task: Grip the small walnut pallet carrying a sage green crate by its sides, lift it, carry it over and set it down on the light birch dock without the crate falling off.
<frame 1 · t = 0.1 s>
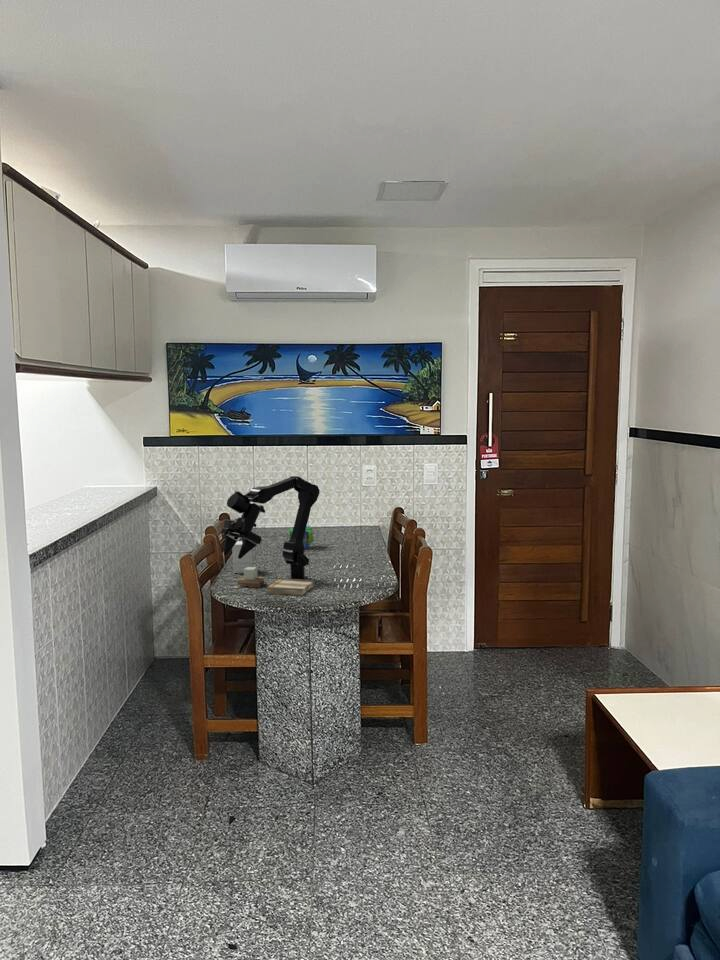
hand: (231, 556, 265), 15 cm above the table, tool tilted 30°, fingers open, 9 cm apart
walnut pallet: (251, 585, 281), on the table, touching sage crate
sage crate: (250, 578, 281), point 3 cm above the table, touching walnut pallet
supplement box: (243, 572, 304), on the table
snack cup: (301, 548, 348), on the table
birch dock: (290, 589, 273), on the table
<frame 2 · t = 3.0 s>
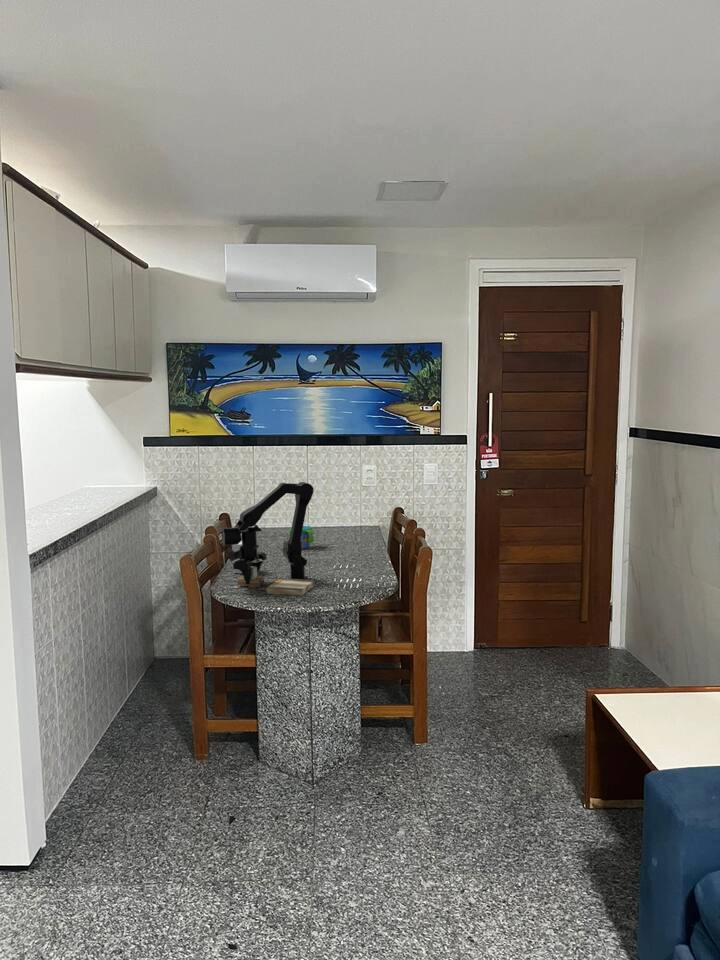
hand: (251, 582, 281), 1 cm above the table, tool pointing down, fingers closed on walnut pallet, 6 cm apart
walnut pallet: (251, 585, 281), on the table, touching gripper, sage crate
everything else where it was.
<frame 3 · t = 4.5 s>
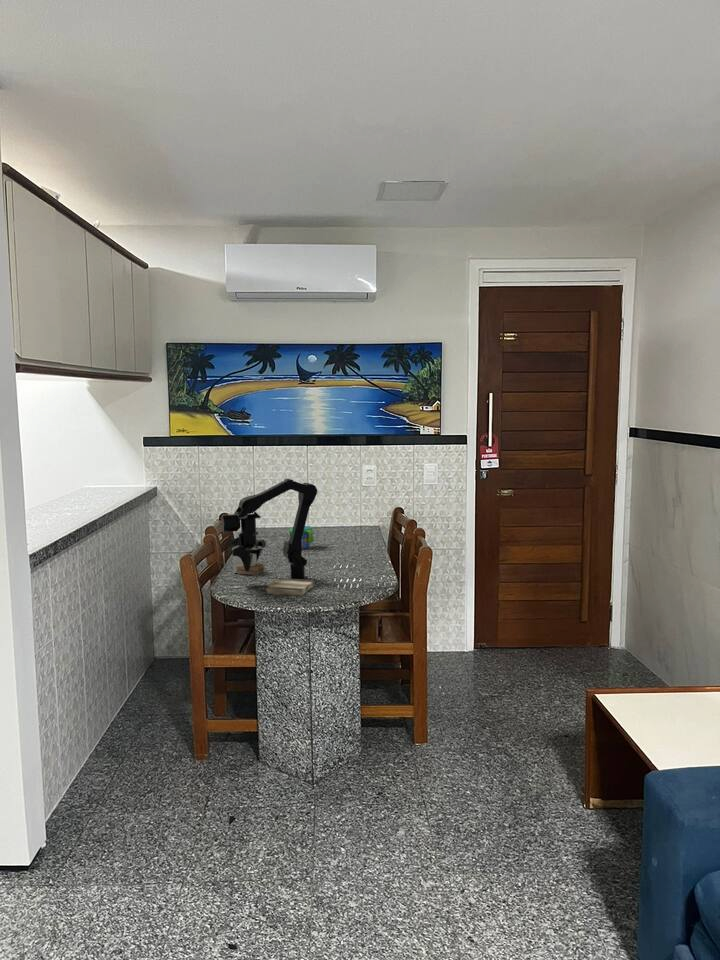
hand: (250, 569, 280), 6 cm above the table, tool pointing down, fingers closed on walnut pallet, 6 cm apart
walnut pallet: (250, 572, 281), point 5 cm above the table, touching gripper, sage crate
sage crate: (250, 564, 280), point 8 cm above the table, touching walnut pallet
everything else where it was.
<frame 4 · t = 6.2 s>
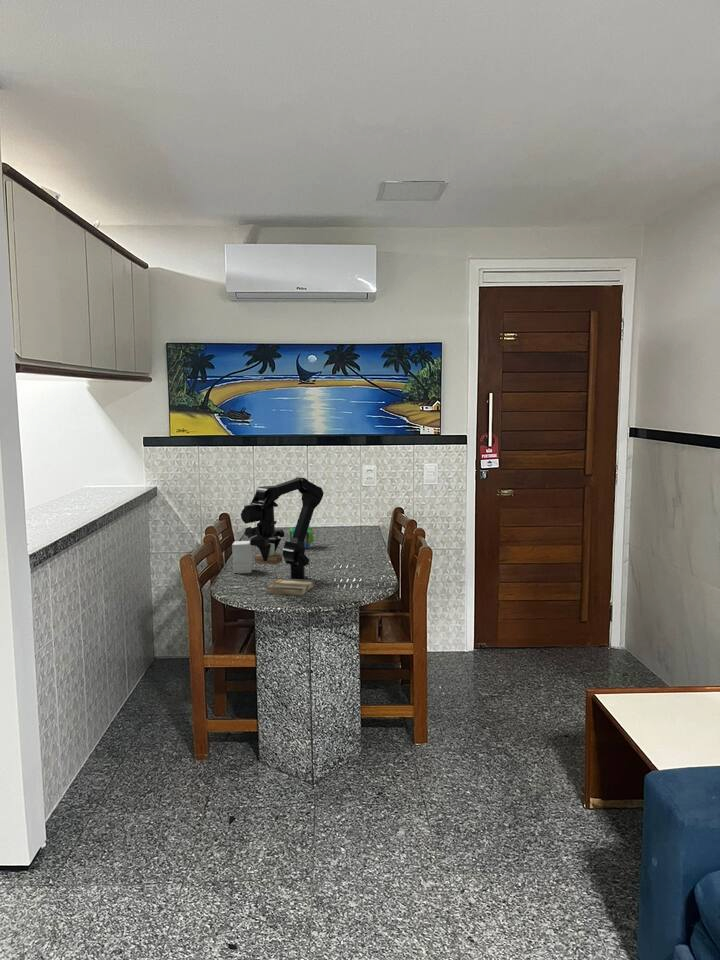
hand: (268, 559, 276), 11 cm above the table, tool pointing down, fingers closed on walnut pallet, 6 cm apart
walnut pallet: (268, 562, 276), point 10 cm above the table, touching gripper, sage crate
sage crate: (268, 554, 276), point 13 cm above the table, touching walnut pallet
everything else where it was.
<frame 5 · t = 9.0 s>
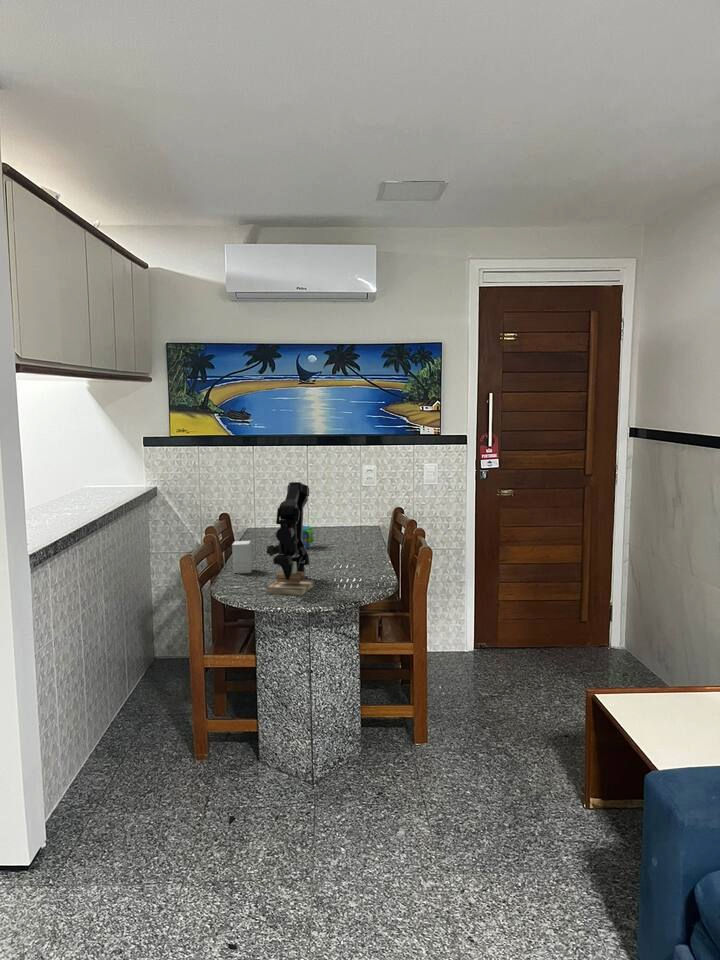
hand: (290, 577, 273), 5 cm above the table, tool pointing down, fingers closed on walnut pallet, 6 cm apart
walnut pallet: (290, 580, 273), point 3 cm above the table, touching gripper, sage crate
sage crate: (290, 573, 273), point 6 cm above the table, touching walnut pallet
everything else where it was.
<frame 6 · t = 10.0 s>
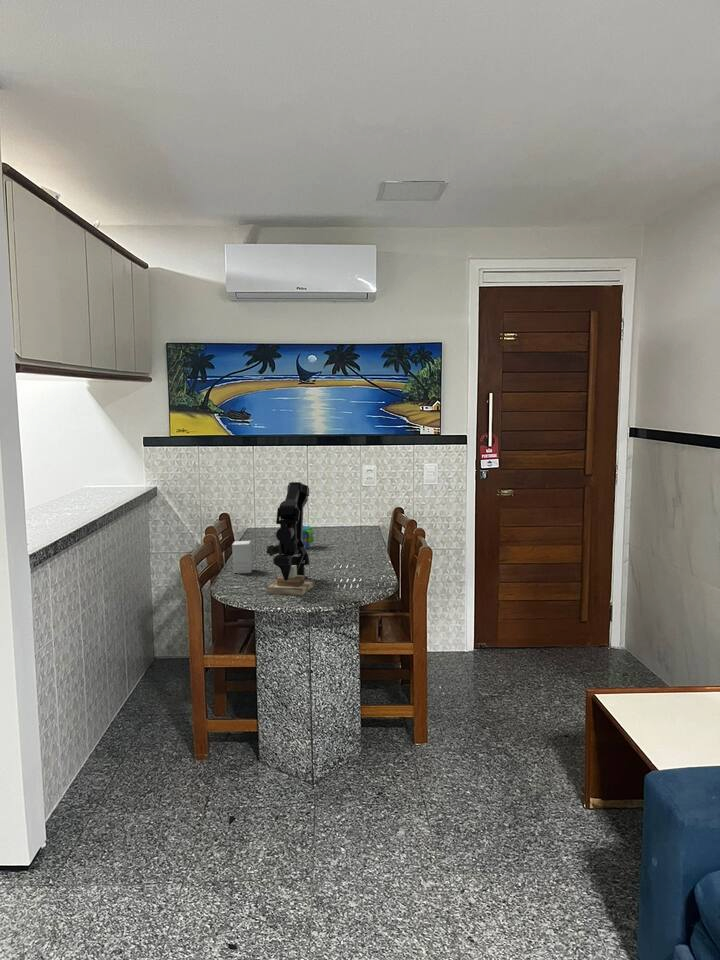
hand: (290, 577, 273), 5 cm above the table, tool pointing down, fingers open, 9 cm apart
walnut pallet: (290, 584, 273), point 2 cm above the table, touching birch dock, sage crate
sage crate: (290, 576, 273), point 5 cm above the table, touching walnut pallet
everything else where it was.
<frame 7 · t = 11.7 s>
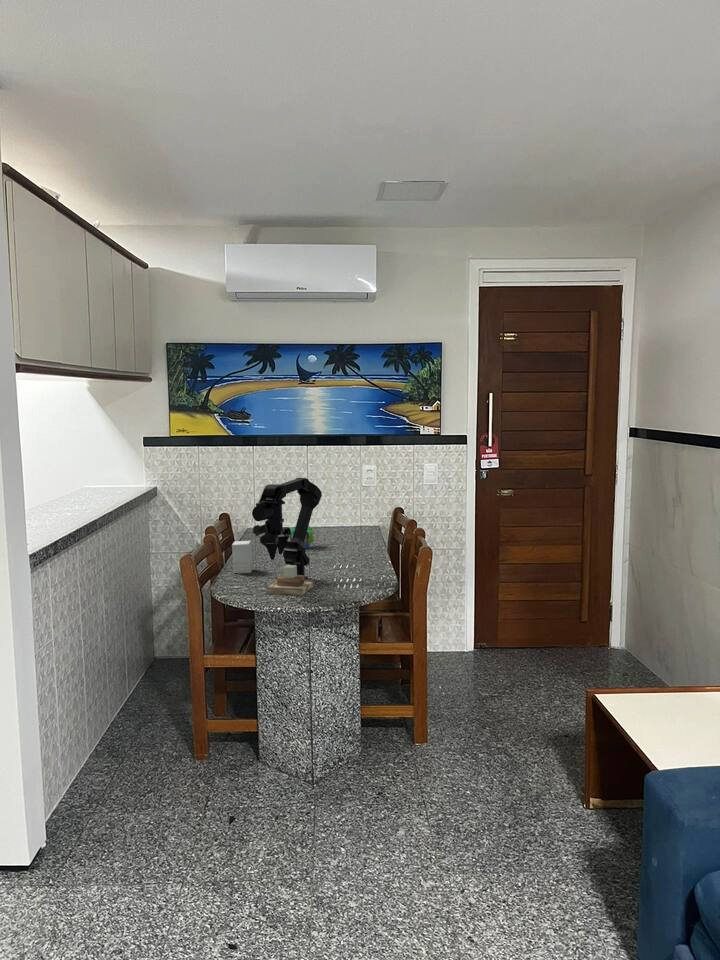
hand: (276, 557, 276), 12 cm above the table, tool pointing down, fingers open, 9 cm apart
nothing on the table moved.
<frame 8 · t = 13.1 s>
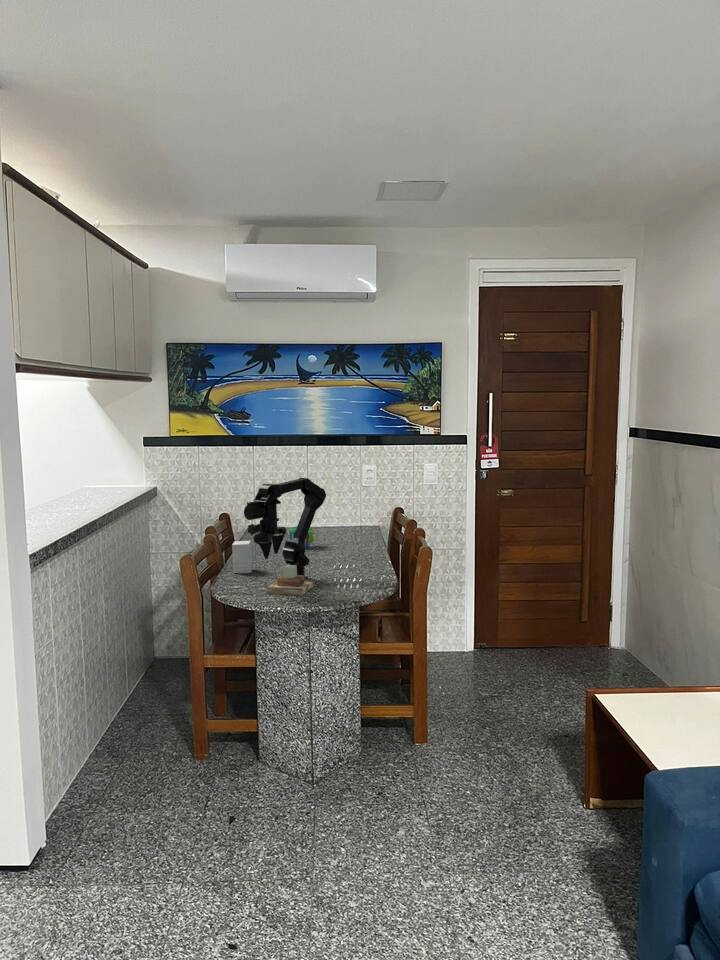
hand: (271, 556, 277), 12 cm above the table, tool pointing down, fingers open, 9 cm apart
nothing on the table moved.
at the end: walnut pallet inside the target area on the birch dock (0.0 cm from its centre), point 2.0 cm above the birch dock's base; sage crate 0.0 cm off-centre on the walnut pallet, point 3.0 cm above the walnut pallet's base; the gripper is holding nothing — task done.
